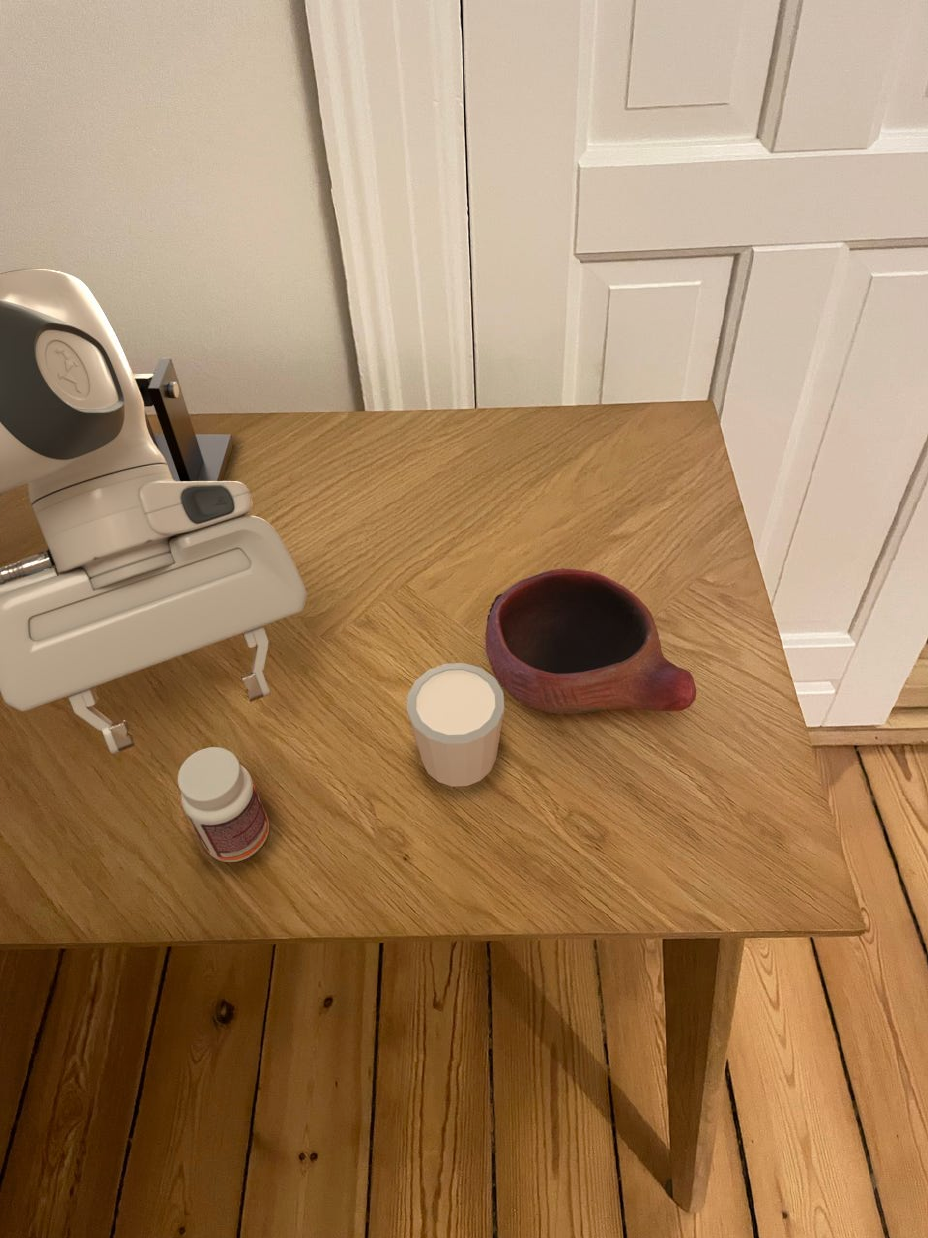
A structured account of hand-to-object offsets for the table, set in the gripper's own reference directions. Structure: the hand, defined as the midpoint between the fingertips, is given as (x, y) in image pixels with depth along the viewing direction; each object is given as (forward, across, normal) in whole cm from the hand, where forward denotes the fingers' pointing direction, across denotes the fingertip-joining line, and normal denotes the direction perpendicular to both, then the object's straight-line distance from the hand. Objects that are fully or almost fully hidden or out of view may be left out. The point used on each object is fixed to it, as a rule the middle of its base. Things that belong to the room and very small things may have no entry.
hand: (193, 723), depth 63 cm
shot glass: (+10, +17, +2) cm, 20 cm away
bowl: (+8, +29, +3) cm, 30 cm away
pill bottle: (+9, 0, +3) cm, 9 cm away
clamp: (-18, +5, +30) cm, 35 cm away
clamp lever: (-24, +3, +18) cm, 30 cm away
